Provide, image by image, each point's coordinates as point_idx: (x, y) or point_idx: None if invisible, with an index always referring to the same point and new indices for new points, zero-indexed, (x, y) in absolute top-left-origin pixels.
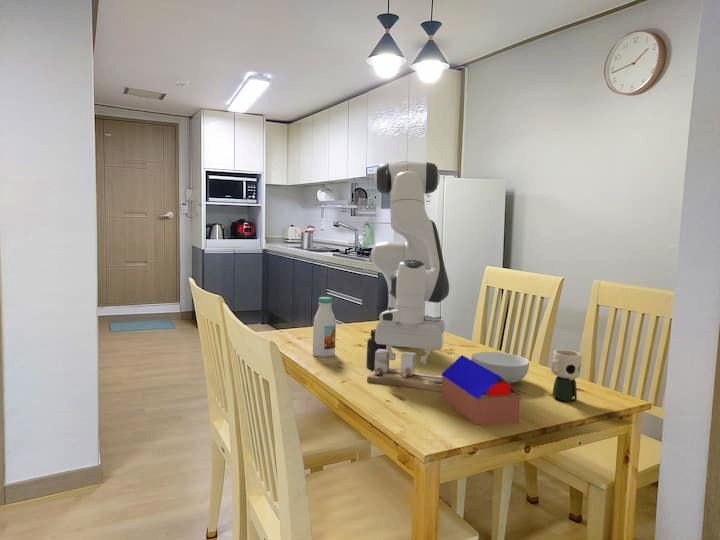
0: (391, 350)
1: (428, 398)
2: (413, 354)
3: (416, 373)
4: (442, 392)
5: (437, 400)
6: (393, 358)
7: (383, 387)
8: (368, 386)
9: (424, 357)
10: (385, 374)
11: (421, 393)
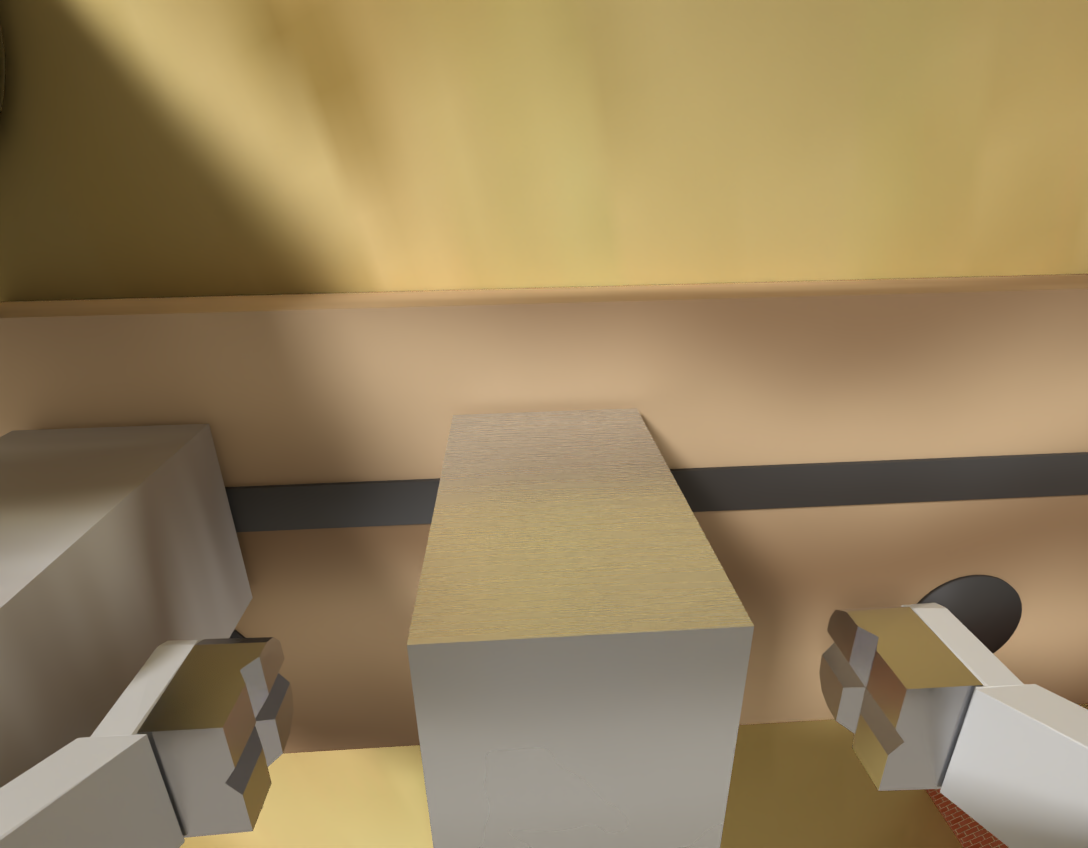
0: (64, 824)
1: (817, 836)
2: (713, 769)
3: (660, 396)
4: (963, 846)
5: (887, 843)
6: (270, 754)
7: (385, 775)
8: None
9: (969, 804)
10: (269, 613)
11: (753, 771)
